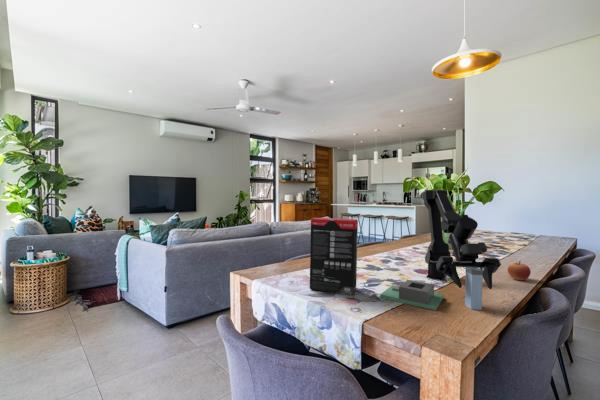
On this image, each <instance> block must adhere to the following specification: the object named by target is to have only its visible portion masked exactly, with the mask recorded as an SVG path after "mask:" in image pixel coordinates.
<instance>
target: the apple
mask: <svg viewBox="0 0 600 400" xmlns="http://www.w3.org/2000/svg"><path fill="white" fill-rule="evenodd" d="M507 266H508V267H507V273H508V275H509V276H510V277H511V278H512V279H514V280H517V281H526V280H528V279H529V278H530V277H531V276H530V275H531V273H532V272H531V269H530V267H529V266H528V265H527V264H524V263H521V260H520V261H519V262H511V263H510V264H509V265H507Z"/></svg>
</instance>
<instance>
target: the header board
mask: <svg viewBox="0 0 600 400" xmlns="http://www.w3.org/2000/svg"><path fill="white" fill-rule="evenodd" d="M444 296H445V295H444V294H441V293H435V284H434V283H433V284H432V283H428V282H423V281H417V280H411V279H407V280H405V281H403V283H402V284H401V285H396V284H395V285H394V284H391V285H390V286H389V287H388V288H387V289H385V290H384V291H382V293H380V294H379V298H380V299H385V300H388V301H392V302H397V303H402V304H405V305H409V306H410V305H411V306H415V307H419V308H422V309H423V308H424V309H428V310H432V311H437V309H438V308H439V306H440V304H441V303H442V302H443V300H444Z"/></svg>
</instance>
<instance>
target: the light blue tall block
mask: <svg viewBox="0 0 600 400" xmlns="http://www.w3.org/2000/svg"><path fill="white" fill-rule="evenodd" d="M483 279H484V278H483V271H482V270H481V269H480V268H476V267H465V280H464V281H465V283H464V285H465V286H464V289H465V290H464V291H465V292H464V305H465V306H466V307H467V308H469V310H475V311H476V310H477V311H482V310H483V308H482V307H483Z"/></svg>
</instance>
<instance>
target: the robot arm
mask: <svg viewBox="0 0 600 400" xmlns="http://www.w3.org/2000/svg"><path fill="white" fill-rule="evenodd" d="M421 198H422V200H423V205H424V206H425V207H426V209H427V210H428V219H429V229H430V243H429V245H428V248H427V252H426V254H425V256H424V262H425V263H426V264H427V275H426V278H427V279H428V278H429V279H434V280H437V281H443V280H445V279H446V278H449V279H450V280H452V281H453V282H454V283H455V285H457V287H458V288H459V289H462V281H461V278H460V276H459V274H458V271H457V268H466V267H476V268H478V269H480V270H482V271H483V278H482V279H483V280H484V282H485V284H486V286H487V288H488V289H489V290H492V289H493V274H495V272H497V270H498V269H499V268H500V267H501V266H502V263H501V261H500V258H497V257H484V259H483V260H482V261H477V260H478V259H479V257H480V256H479V255H482V254H484V253H486V252H487V251H488V247H487V245H486V243H485V242H483V241H481V242H478V243H475V242H474V243H470V242H469V240H470V239H471V238H472V236H473V235H474V232H475V231H476V230H477V228H478V225H479V223H478V221H476V220H475V219H474V218H472V217H469V215H468V214H461V215H460V214H458V213H457V212H455V210H454V207H453V205H452V203H451V201H450V199H449V196H448V191H447V190H446V189H425V190H424V191H422V194H421ZM443 233H444V234H449V236H448V241H447V243H446V242H445V241H444V237H443ZM449 244H450V246H451V249H452V251H453V252H452V254H451V252H450V246H449ZM451 255H452V256H451ZM453 257H454V258H455V260H454V258H453Z"/></svg>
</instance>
